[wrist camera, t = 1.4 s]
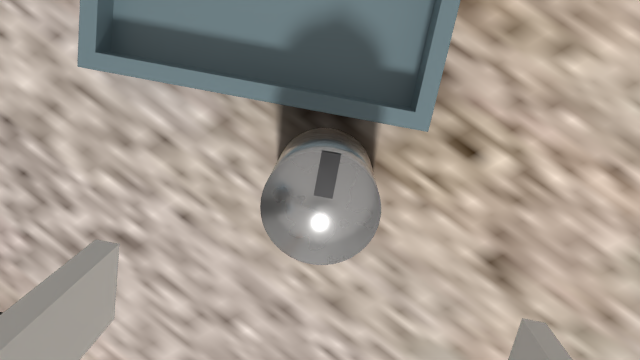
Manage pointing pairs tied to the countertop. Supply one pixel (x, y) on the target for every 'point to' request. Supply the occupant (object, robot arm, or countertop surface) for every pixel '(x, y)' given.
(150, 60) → the parts tray
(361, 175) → the knob
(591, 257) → the countertop surface
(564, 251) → the countertop surface
